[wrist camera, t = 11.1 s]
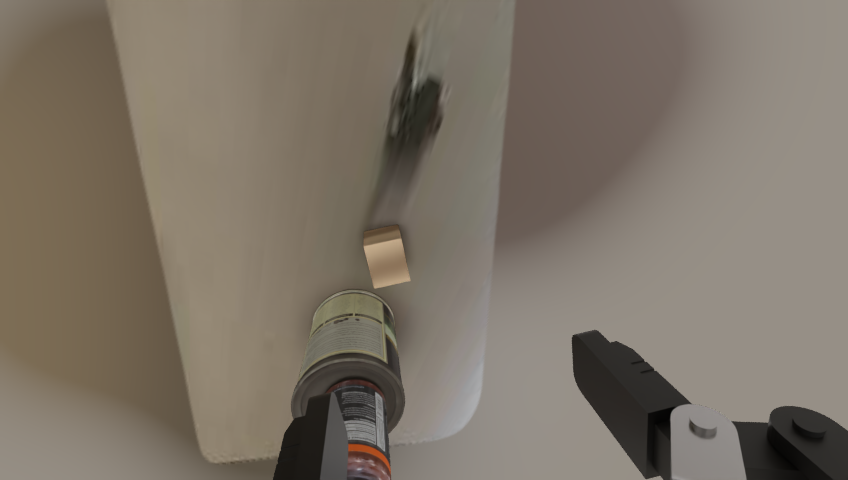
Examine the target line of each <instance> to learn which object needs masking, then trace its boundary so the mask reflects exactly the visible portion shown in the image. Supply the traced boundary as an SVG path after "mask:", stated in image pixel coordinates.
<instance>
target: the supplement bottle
mask: <svg viewBox="0 0 848 480" xmlns="http://www.w3.org/2000/svg"><path fill="white" fill-rule="evenodd" d="M329 392H334V393H335V395H336V398H337V401H338V405H339V408H340V411H341V414H342V417H343V420H344V423H345V426H346V430H347V435H348V465H347V480H391V471H390V454H389V438H388V425H387V410H386V403H385V398H384V395H383V393H382V392H381V391H380V390H379V389H378V388H377V387H376V386H375V385H374V384H372V383H370V382H368V381H364V380H360V379H359V380H356V379H352V380H346V381H342V382H340V383H338V384H336V385H334V386H333V387H331V388H330V389H329V390H328V391H327V392H326V393H329Z"/></svg>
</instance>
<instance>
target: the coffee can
mask: <svg viewBox="0 0 848 480" xmlns="http://www.w3.org/2000/svg"><path fill="white" fill-rule="evenodd" d="M352 379H356V380H359V379H360V380H364V381H368V382H370V383H372V384H374V385H375V386H376V387H377V388H378V389H379V390H380V391H381V392H382V393H383V395H384V398H385V403H386V410H387V425H388V434H389V433H390V432H391V431H392V430H393V429H394V428H395V427H396V425H397V424H398V422H399V420H400V419H401V417H402V414H403V411H404V406H405V395H404V389H403V385H402V381H401V374H400V366H399V358H398V350H397V342H396V334H395V320H394V316H393V313H392V311H391V309H390V307H389V306H388V304H387V303H386V302H385V301H384V300H383V299H382V298H380V297H379V296H377V295H375V294H373V293H370V292H368V291H363V290H346V291H341V292H338V293H336V294H334V295H332V296H330V297H329V298H327V299H326V300H325V301H324V302H323V303H321V305H320V306H319V307H318V309H317V311H316V312H315V315H314V318H313V322H312V328H311V332H310V335H309V340H308V343H307V347H306V352H305V356H304V359H303V363H302V367H301V371H300V374H299V379H298V383H297V385H296V387H295V389H294V392H293V396H292V401H291V411H292V416H293V419H294V418H297V417H301V416H305V414H306V409H307V404H308V400H309V398H310V397H312V396H316V395H321V394H325V393H326V392H327V391H328V390H329V389H330V388H331V387H333V386H334V385H336V384H338V383H340V382H342V381H346V380H352Z"/></svg>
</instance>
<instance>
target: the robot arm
mask: <svg viewBox="0 0 848 480" xmlns="http://www.w3.org/2000/svg"><path fill="white" fill-rule="evenodd" d="M572 353H573V372H574V377H575V381H576V383H577V386H578V387H579V389H580V391H581V392H582V394H583V395H584V397H585V398H586V399H587V401H588V402H589V403H590V405H591V406H592V407H593V409H594V410H595V411H596V413H597V414H598V415H599V417H600V418H601V420H602V421H603V422H604V424H605V425H606V426H607V428H608V429H609V430H610V431H611V433H612V434H613V436H614V437H615V438H616V440H617V441H618V442H619V443H620V445H621V446H622V448H623V449H624V450H625V452H626V453H627V455H628V456H629V457H630V459H631V460H632V461H633V463H634V464H635V465H636V467H637V468H638V469H639V471H640V472H641V473H642V475H643V476H644V477H645V479H649V478H653V477H656V476H661V477H662V478H663V480H848V431H847V430H846V429H845V428H843V427H842V426H840V425H839V424H838V423H836V422H835V421H833V420H832V419H830V418H828V417H826V416H825V415H822V414H820V413H818V412H815V411H812V410H809V409H806V408H801V407H795V406H783V407H779V408H776V409H774V410H773V411H772V412H771V414H770V418H769V423H760V422H758V423H757V422H734V421H730V420H729V419H728V418H727V417H726V416H724V415H723V414H721V413H720V412H718V411H716V410H714V409H711V408H709V407H706V406H702V405H696V404H691V403H690V402H689V401H688V400H687V399H686V398H685V397H684V396H683V395H682V394H680V393H679V392H678V391H677V390H676V389H675V388H674V387H673V386H672V385H671V384H670V383H669V382H668V381H666V380H665V379H664V378H663V377H662V376H661V375H660V374H659V373H658V372H657V371H654V368H652V367H651V366H650V365H649V364H648V363H647V362H645V361H644V359H643V358H642V357H641V356H640V355H638V354H637V353H636V352H635V351H634V350H633V349H631V348H629V347H627V346H625V345H623V344H621V343H619V342H617V341H615V342H611V343H610V342H609V341H608V340H607V339H606V338H604V336H603V335H602V334H601V333H599V331H597V330H592V331H588V332H584V333H580V334H576V335H573V337H572ZM347 465H348V435H347V430H346V426H345V423H344V420H343V417H342V414H341V411H340V408H339V405H338V401H337V398H336V395H335V393H334V392H329V393H325V394H321V395H316V396H312V397H310V398H309V400H308V404H307V409H306V414H305V416H301V417H297V418H294V420H293V421H292V423H291V424H290V426H289V427H288V429H287V430H286V432H285V434H284V438H283V442H282V446H281V451H280V453H279V457H278V464H277V465H276V470H275V473H274V477H273V480H347Z"/></svg>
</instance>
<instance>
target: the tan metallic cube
mask: <svg viewBox="0 0 848 480" xmlns="http://www.w3.org/2000/svg"><path fill="white" fill-rule="evenodd" d="M364 250H365V254H366V258H367V262H368V266H369V270H370V274H371V278H372V282H373V286H374V289H375V288H380V287H384V286H389V285H393V284H398V283H402V282H407V281H410V277H409V272H408V267H407V263H406V258H405V253H404V249H403V244H402V239H401V235H400V231H399V227H398V225H393V226H388V227H384V228H379V229H374V230H369V231H365V232H364Z"/></svg>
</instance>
